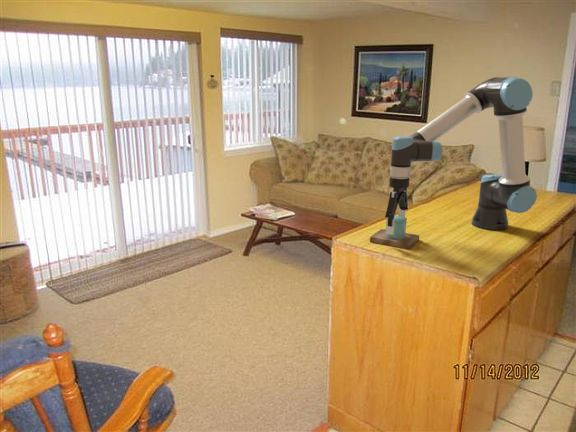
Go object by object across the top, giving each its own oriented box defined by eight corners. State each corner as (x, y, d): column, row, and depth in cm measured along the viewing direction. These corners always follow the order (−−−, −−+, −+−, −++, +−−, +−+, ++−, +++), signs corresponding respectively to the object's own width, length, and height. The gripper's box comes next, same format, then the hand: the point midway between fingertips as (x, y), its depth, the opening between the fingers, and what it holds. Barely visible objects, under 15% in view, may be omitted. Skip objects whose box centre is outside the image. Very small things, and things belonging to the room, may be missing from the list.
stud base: (419, 239, 195) (420, 220, 193) (409, 249, 184) (411, 229, 182) (381, 233, 203) (382, 214, 201) (369, 241, 192) (371, 222, 190)
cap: (407, 235, 194) (409, 217, 192) (401, 240, 188) (403, 222, 186) (389, 231, 198) (390, 214, 196) (382, 237, 192) (383, 218, 189)
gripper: (400, 170, 198) (396, 220, 204) (379, 181, 178) (375, 236, 184) (418, 172, 195) (413, 223, 201) (399, 183, 174) (394, 239, 180)
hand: (395, 229), depth 192 cm, fingers open, 13 cm apart
